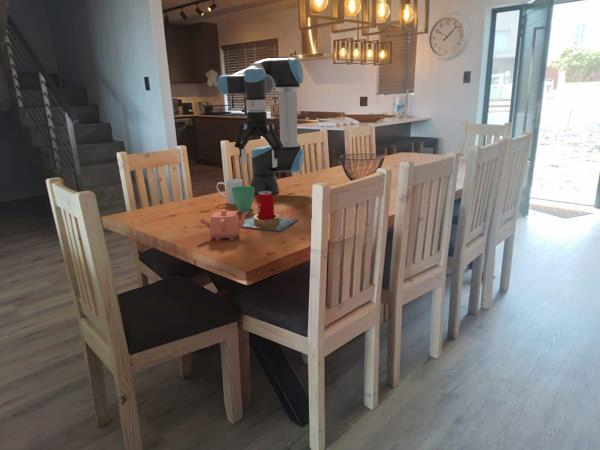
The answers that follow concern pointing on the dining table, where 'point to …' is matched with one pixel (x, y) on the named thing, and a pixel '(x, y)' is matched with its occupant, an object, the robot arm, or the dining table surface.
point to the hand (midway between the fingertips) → (259, 166)
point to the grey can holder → (269, 223)
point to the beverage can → (265, 205)
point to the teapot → (224, 224)
